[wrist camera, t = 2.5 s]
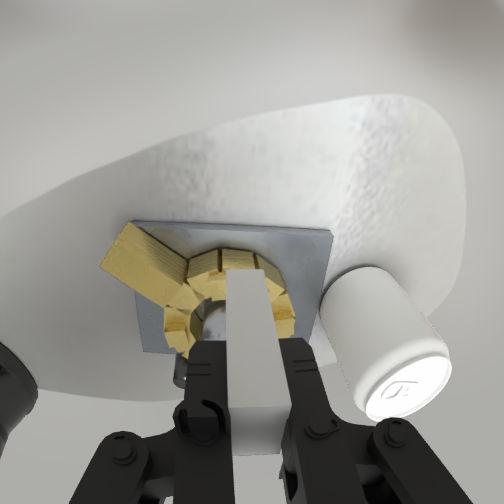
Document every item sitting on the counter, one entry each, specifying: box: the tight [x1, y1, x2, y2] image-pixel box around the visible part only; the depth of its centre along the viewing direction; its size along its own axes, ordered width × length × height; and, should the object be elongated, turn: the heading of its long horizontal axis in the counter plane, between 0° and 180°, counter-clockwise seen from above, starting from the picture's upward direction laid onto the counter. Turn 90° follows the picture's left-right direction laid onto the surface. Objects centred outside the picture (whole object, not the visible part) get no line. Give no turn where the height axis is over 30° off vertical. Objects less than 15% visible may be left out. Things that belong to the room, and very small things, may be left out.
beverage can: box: [320, 267, 452, 421], centre depth 24 cm, size 8×8×12 cm
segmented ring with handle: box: [99, 222, 296, 359], centre depth 24 cm, size 16×10×4 cm, turn 50°
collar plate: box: [131, 221, 334, 389], centre depth 25 cm, size 16×13×6 cm
